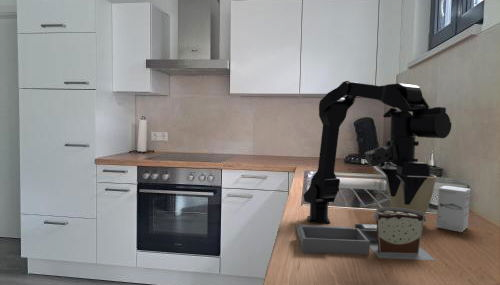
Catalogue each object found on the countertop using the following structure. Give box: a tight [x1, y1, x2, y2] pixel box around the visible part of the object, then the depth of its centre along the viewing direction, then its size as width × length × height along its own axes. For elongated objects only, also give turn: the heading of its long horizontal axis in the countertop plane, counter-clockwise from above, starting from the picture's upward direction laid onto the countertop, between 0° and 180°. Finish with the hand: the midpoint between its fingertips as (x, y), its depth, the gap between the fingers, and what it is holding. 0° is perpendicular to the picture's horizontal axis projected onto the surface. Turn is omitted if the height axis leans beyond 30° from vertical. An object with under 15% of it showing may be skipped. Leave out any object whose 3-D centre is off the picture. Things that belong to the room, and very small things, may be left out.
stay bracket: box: [354, 223, 378, 243], centre depth 94 cm, size 6×12×4 cm, turn 87°
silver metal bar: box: [362, 225, 377, 230], centre depth 94 cm, size 3×9×3 cm, turn 87°
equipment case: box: [295, 224, 371, 255], centre depth 94 cm, size 21×16×4 cm
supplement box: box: [436, 185, 471, 233], centre depth 108 cm, size 7×7×13 cm
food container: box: [373, 206, 427, 254], centre depth 86 cm, size 12×6×10 cm, turn 90°
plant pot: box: [385, 174, 437, 214], centre depth 112 cm, size 15×15×16 cm
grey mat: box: [370, 243, 436, 261], centre depth 86 cm, size 10×13×1 cm
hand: (399, 200), depth 85 cm, fingers open, 9 cm apart
